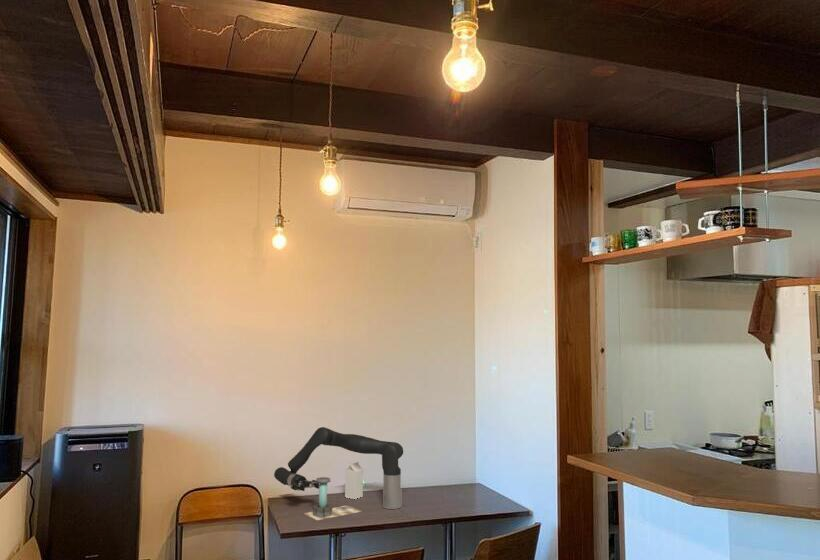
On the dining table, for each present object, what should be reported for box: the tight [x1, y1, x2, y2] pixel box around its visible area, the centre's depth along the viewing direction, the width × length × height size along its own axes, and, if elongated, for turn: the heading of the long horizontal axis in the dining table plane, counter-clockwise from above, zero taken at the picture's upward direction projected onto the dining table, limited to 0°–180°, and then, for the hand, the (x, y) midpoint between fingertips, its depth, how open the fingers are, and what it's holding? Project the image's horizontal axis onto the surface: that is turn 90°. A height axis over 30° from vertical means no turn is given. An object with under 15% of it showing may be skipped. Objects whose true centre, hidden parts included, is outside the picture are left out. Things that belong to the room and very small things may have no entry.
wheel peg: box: [316, 476, 331, 508], centre depth 303 cm, size 7×7×17 cm
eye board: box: [303, 503, 363, 521], centre depth 306 cm, size 26×14×6 cm, turn 128°
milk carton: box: [344, 461, 364, 500], centre depth 341 cm, size 7×7×19 cm
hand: (311, 487), depth 312 cm, fingers open, 8 cm apart
